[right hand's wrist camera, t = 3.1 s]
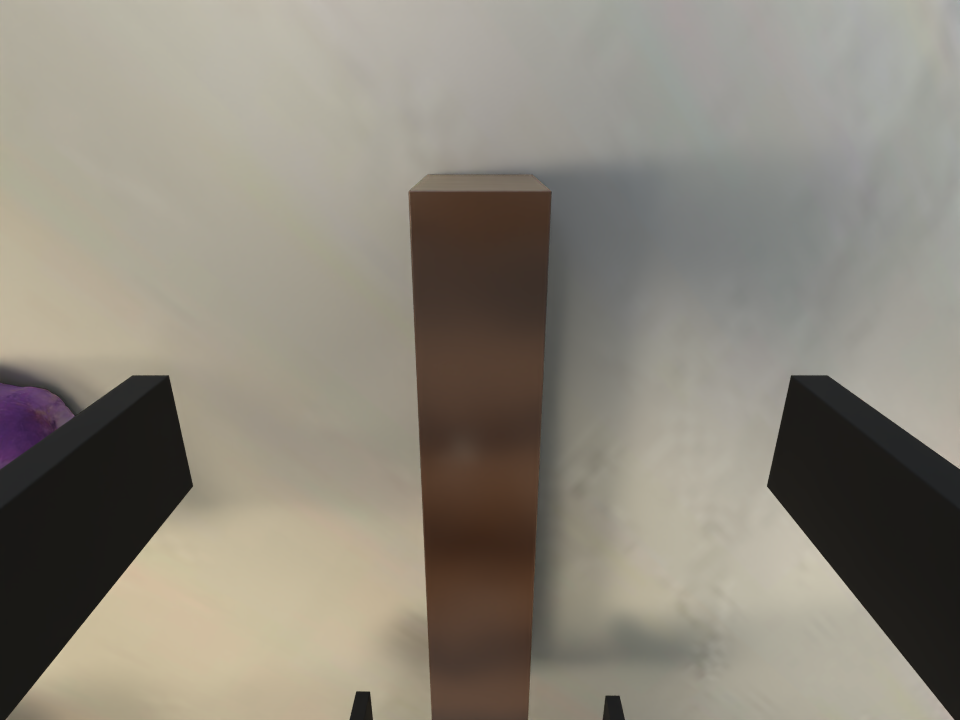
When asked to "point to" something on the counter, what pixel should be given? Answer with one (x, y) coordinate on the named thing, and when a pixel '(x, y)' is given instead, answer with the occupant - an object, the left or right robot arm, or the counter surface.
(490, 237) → the plank
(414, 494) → the counter surface
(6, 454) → the figurine
